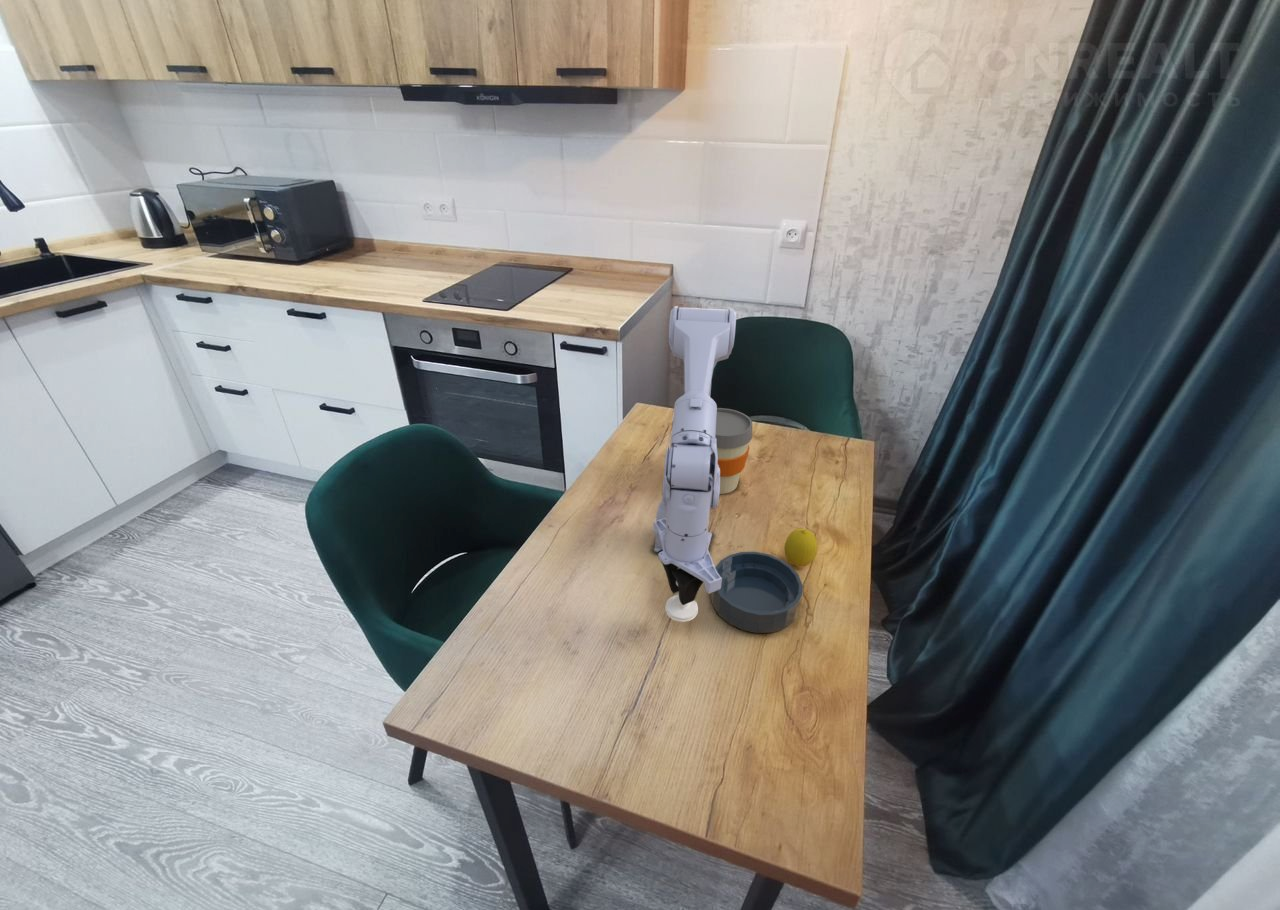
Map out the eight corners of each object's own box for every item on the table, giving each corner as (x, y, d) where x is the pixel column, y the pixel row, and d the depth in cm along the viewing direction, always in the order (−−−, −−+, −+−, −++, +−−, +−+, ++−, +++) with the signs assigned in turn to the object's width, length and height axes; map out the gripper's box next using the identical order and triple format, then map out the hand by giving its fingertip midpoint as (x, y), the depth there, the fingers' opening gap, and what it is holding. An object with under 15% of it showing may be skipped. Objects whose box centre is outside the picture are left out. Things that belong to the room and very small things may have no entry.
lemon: (814, 578, 98) (822, 542, 94) (781, 573, 99) (788, 538, 95) (812, 556, 103) (820, 522, 98) (781, 552, 103) (787, 518, 99)
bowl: (703, 624, 89) (705, 603, 87) (718, 564, 101) (720, 544, 98) (796, 644, 86) (800, 623, 83) (799, 580, 97) (803, 560, 95)
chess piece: (675, 626, 82) (678, 576, 77) (659, 603, 86) (661, 554, 80) (704, 614, 84) (709, 565, 79) (687, 593, 88) (690, 544, 82)
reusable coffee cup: (754, 477, 125) (763, 417, 117) (731, 506, 115) (738, 442, 108) (704, 460, 130) (708, 402, 122) (677, 486, 121) (680, 425, 113)
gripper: (635, 503, 80) (635, 574, 87) (692, 565, 69) (686, 640, 76) (677, 489, 83) (673, 559, 90) (738, 547, 72) (728, 621, 79)
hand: (682, 595), depth 83 cm, fingers closed on chess piece
